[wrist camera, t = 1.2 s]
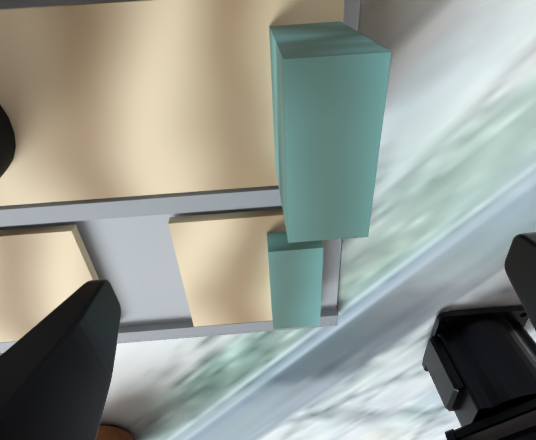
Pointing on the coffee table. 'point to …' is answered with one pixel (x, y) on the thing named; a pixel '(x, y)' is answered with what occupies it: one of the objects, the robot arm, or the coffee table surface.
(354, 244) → the coffee table surface
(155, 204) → the lane board
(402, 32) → the coffee table surface
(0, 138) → the cup
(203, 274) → the broken strip
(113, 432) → the wooden figurine
